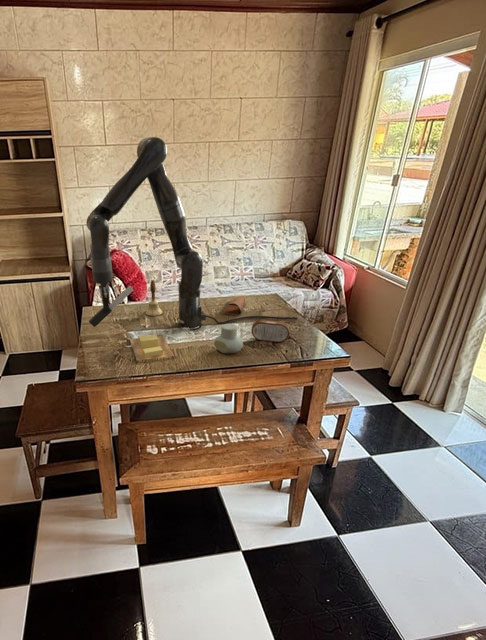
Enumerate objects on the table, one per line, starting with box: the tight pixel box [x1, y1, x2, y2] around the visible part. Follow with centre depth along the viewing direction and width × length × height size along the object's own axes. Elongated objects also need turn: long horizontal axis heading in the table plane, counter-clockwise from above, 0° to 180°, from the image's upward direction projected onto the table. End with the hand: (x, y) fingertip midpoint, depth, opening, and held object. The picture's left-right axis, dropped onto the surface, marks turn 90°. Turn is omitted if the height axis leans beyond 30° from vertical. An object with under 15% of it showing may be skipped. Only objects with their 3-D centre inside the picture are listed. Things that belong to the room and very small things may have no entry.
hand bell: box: [145, 279, 164, 317], centre depth 193 cm, size 8×8×16 cm
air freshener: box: [214, 323, 244, 354], centre depth 155 cm, size 11×8×10 cm
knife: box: [88, 285, 134, 328], centre depth 164 cm, size 22×2×3 cm
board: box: [129, 335, 174, 361], centre depth 160 cm, size 14×20×1 cm
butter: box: [138, 333, 159, 349], centre depth 161 cm, size 7×5×4 cm
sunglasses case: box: [223, 295, 246, 316], centre depth 197 cm, size 18×7×7 cm
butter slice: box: [143, 346, 163, 358], centre depth 154 cm, size 7×2×4 cm
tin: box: [251, 319, 291, 343], centre depth 162 cm, size 15×3×8 cm, turn 71°
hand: (106, 311), depth 165 cm, fingers closed on knife, 2 cm apart
